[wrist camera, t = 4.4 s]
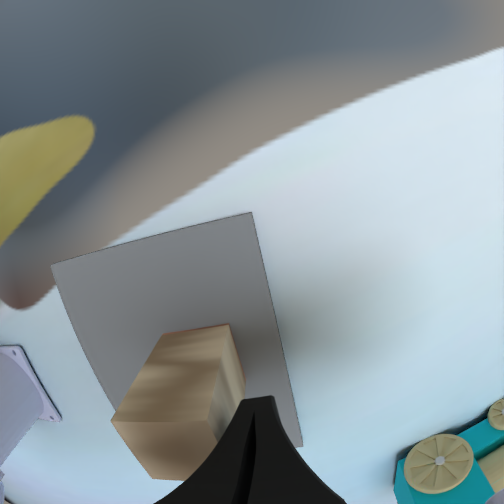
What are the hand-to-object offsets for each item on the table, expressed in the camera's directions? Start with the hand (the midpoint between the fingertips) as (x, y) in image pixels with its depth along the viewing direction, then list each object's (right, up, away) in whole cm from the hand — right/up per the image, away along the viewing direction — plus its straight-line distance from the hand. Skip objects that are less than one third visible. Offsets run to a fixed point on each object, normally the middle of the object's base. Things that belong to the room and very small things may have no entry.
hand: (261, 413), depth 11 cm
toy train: (+21, -12, +9) cm, 26 cm away
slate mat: (-5, -1, +6) cm, 8 cm away
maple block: (-3, +1, +5) cm, 6 cm away
